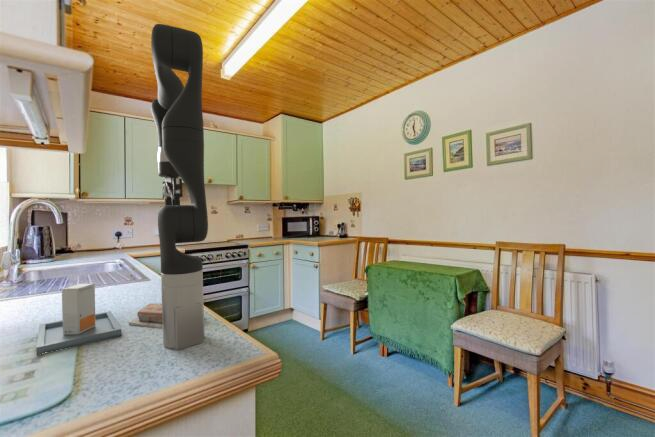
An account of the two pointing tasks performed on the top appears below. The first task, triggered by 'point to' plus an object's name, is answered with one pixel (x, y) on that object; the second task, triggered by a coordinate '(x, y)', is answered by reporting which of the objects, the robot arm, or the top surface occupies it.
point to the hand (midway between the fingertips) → (172, 211)
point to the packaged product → (149, 316)
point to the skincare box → (78, 308)
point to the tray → (55, 340)
